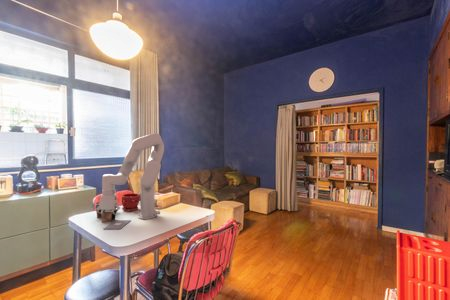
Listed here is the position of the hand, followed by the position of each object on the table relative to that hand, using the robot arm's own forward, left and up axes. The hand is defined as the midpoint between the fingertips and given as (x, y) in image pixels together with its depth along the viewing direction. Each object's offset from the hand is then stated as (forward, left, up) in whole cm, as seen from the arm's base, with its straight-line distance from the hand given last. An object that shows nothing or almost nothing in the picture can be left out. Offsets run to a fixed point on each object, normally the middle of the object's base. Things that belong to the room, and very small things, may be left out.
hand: (108, 219), depth 145 cm
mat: (-10, +8, -1) cm, 13 cm away
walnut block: (0, 0, -1) cm, 1 cm away
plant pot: (-4, -26, -1) cm, 26 cm away
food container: (+10, -11, -1) cm, 15 cm away
